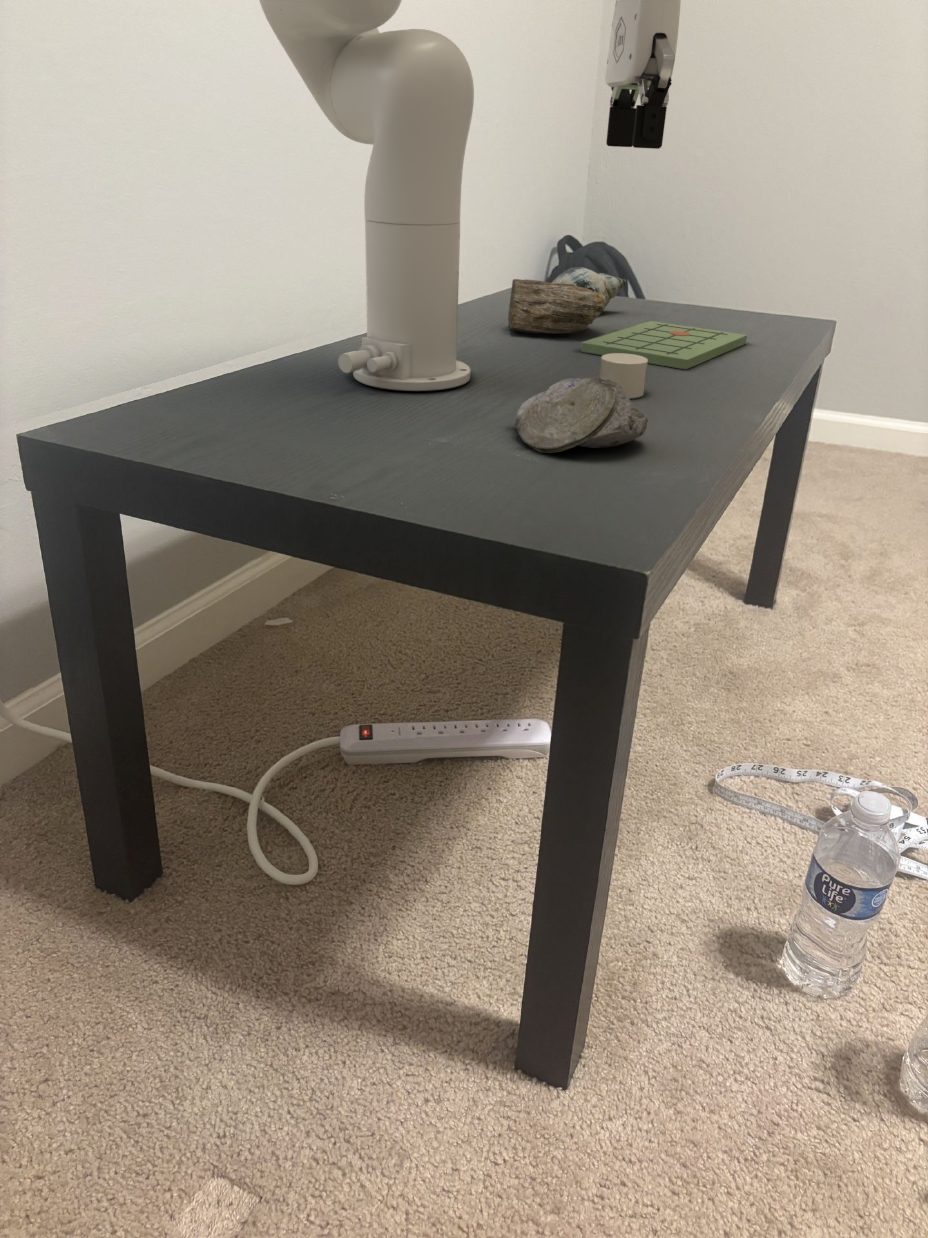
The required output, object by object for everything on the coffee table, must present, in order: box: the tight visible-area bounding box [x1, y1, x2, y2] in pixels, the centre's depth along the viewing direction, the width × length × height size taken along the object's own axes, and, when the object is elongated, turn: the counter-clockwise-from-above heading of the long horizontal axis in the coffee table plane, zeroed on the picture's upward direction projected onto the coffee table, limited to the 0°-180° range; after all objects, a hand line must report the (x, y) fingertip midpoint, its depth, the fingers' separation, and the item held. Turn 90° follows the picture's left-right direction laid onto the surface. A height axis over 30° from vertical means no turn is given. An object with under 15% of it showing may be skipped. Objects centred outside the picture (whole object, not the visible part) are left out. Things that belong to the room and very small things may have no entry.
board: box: [580, 320, 748, 370], centre depth 116 cm, size 20×14×1 cm
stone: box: [507, 278, 606, 335], centre depth 122 cm, size 14×10×10 cm
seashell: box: [551, 266, 627, 308], centre depth 136 cm, size 6×8×12 cm
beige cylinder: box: [598, 353, 649, 400], centre depth 94 cm, size 5×5×4 cm
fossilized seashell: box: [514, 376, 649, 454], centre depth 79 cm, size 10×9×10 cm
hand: (632, 146), depth 102 cm, fingers open, 9 cm apart
